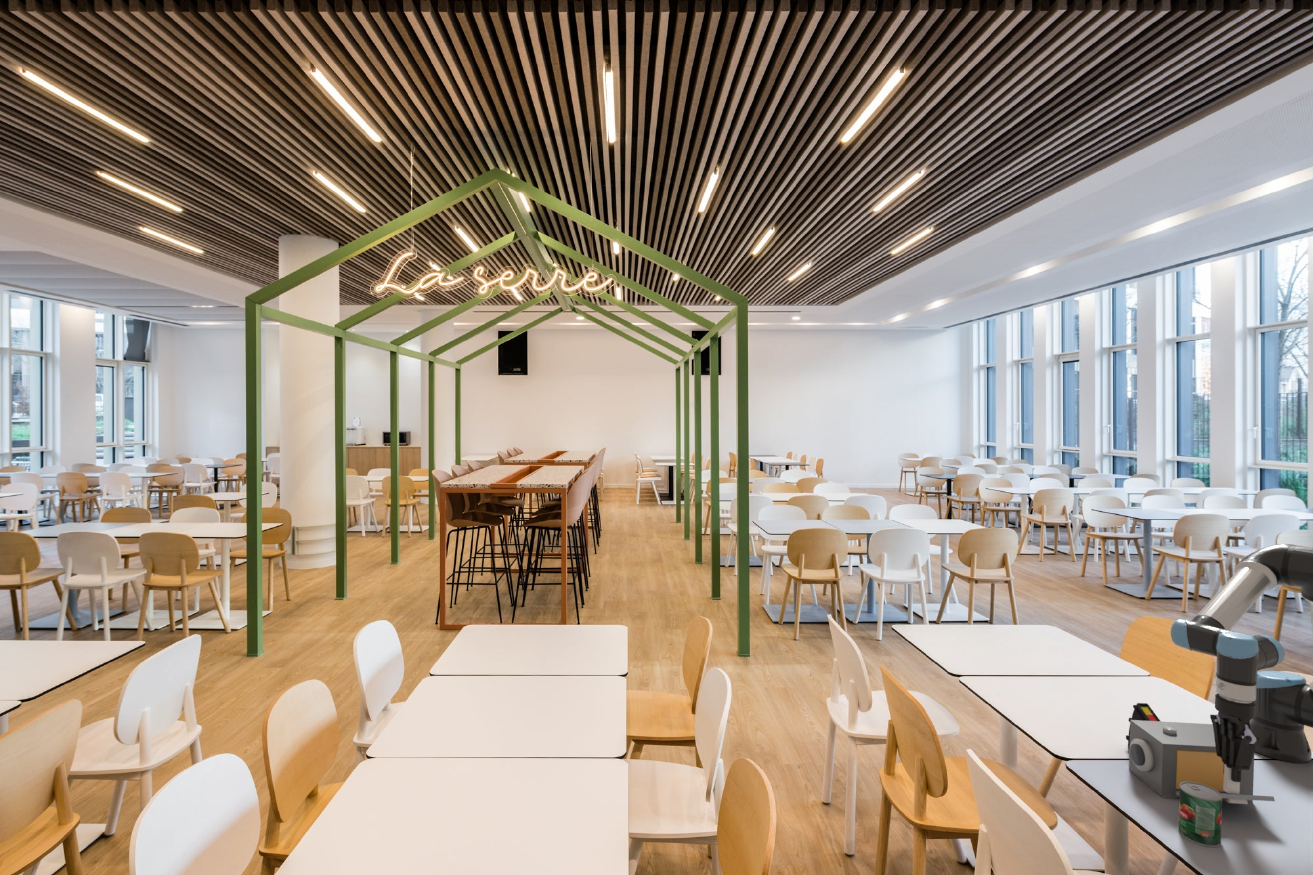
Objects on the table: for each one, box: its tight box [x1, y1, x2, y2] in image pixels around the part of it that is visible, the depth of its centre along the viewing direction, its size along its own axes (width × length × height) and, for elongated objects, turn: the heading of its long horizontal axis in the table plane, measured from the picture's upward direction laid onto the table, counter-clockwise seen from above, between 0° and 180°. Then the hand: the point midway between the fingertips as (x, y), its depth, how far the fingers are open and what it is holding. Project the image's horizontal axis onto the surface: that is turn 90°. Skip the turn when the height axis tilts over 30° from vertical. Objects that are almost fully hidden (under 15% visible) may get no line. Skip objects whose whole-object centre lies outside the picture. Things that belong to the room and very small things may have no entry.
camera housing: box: [1128, 720, 1255, 804], centre depth 180 cm, size 24×14×15 cm, turn 84°
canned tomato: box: [1177, 782, 1223, 848], centre depth 157 cm, size 8×8×11 cm
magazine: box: [1125, 702, 1162, 749], centre depth 194 cm, size 4×13×15 cm, turn 177°
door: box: [1175, 791, 1276, 805], centre depth 167 cm, size 2×16×11 cm
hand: (1231, 791), depth 164 cm, fingers closed
